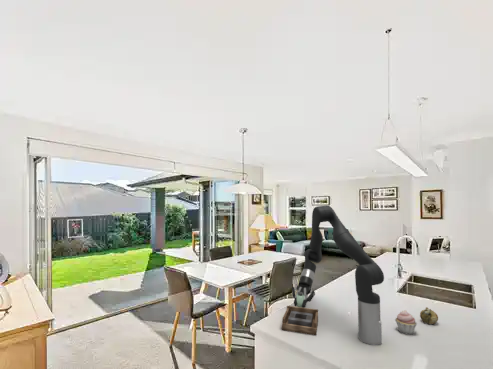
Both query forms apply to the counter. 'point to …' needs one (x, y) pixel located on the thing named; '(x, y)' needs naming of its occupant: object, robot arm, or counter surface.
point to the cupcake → (405, 322)
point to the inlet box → (300, 320)
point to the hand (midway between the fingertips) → (299, 306)
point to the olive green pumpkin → (428, 316)
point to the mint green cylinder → (300, 299)
